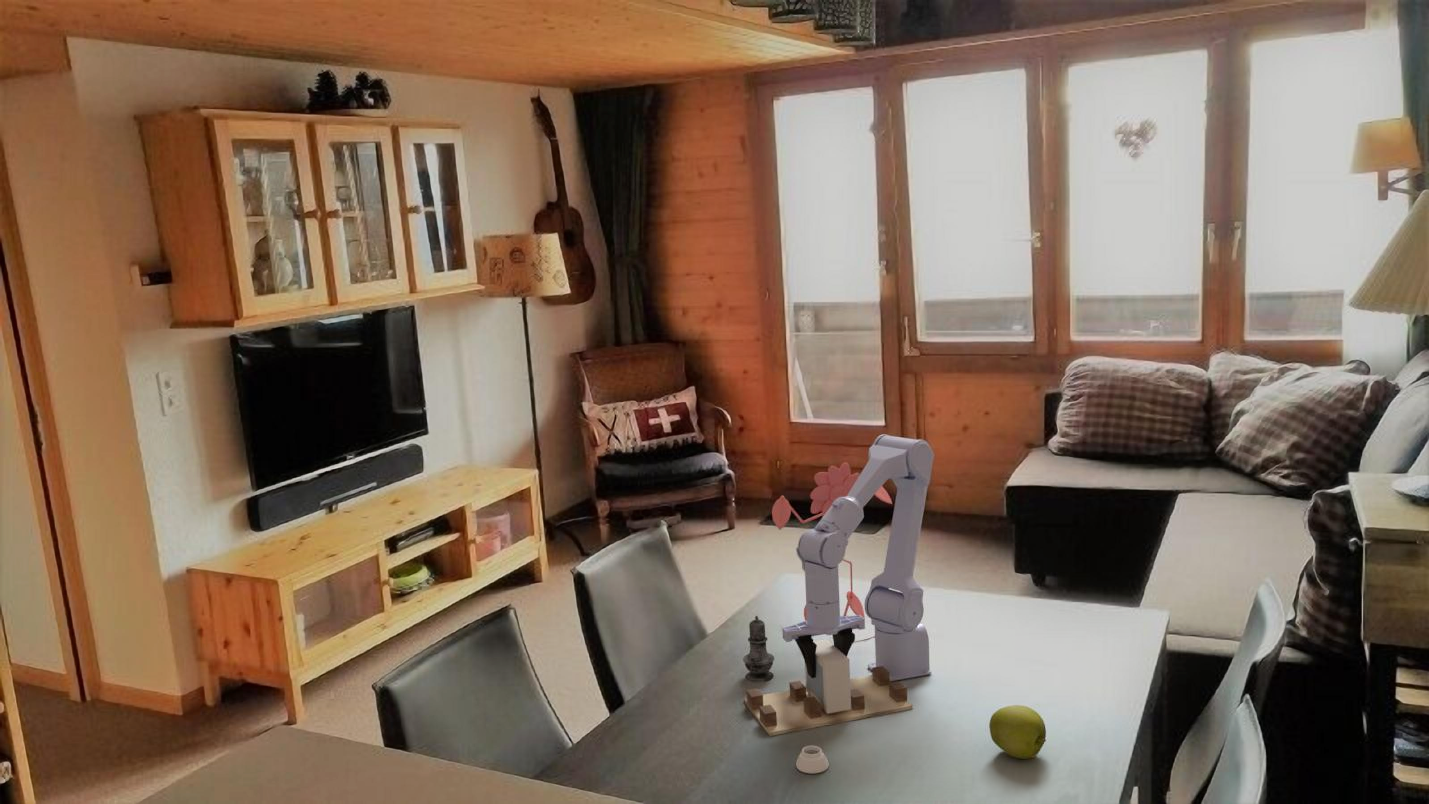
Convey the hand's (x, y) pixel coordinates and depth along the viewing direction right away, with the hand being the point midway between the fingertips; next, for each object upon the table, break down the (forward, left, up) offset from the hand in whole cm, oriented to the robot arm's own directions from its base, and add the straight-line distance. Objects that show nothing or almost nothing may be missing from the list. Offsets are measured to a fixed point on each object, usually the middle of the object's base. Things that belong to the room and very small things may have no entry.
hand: (825, 673), depth 191 cm
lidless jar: (+10, +19, -6) cm, 23 cm away
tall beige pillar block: (0, +1, -5) cm, 5 cm away
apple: (-21, +28, -6) cm, 36 cm away
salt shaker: (+7, -16, -6) cm, 18 cm away
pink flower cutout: (-16, -31, -6) cm, 35 cm away
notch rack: (0, 0, -6) cm, 6 cm away
